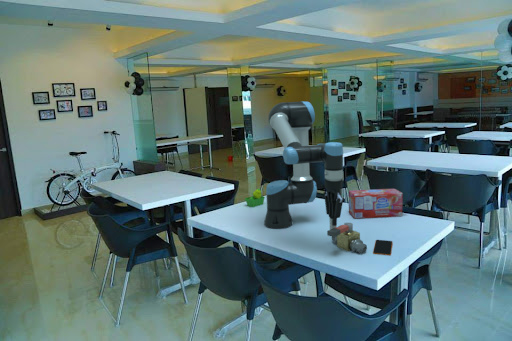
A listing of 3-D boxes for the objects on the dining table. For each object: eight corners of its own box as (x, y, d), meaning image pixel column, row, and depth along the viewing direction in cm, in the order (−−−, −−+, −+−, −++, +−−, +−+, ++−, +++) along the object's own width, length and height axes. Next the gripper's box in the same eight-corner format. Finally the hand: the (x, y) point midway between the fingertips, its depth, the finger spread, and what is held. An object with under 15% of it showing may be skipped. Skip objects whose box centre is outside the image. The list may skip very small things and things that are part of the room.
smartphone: (372, 254, 169) (372, 252, 169) (375, 241, 185) (375, 239, 184) (391, 256, 167) (391, 254, 166) (392, 242, 182) (392, 240, 182)
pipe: (329, 245, 184) (329, 228, 182) (341, 241, 187) (340, 225, 186) (356, 257, 168) (356, 239, 167) (368, 254, 172) (369, 235, 170)
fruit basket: (257, 202, 260) (257, 185, 258) (267, 204, 254) (266, 187, 251) (244, 206, 252) (243, 188, 250) (254, 208, 246) (253, 190, 244)
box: (394, 210, 230) (395, 187, 227) (403, 217, 217) (404, 192, 215) (347, 212, 229) (347, 189, 227) (353, 219, 217) (353, 195, 214)
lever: (327, 239, 169) (327, 230, 168) (347, 229, 179) (347, 222, 178) (334, 241, 166) (334, 232, 165) (354, 231, 176) (354, 223, 175)
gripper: (318, 177, 172) (318, 228, 177) (333, 183, 161) (333, 238, 165) (333, 175, 175) (332, 226, 180) (349, 181, 163) (348, 235, 168)
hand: (333, 231), depth 172 cm, fingers closed
